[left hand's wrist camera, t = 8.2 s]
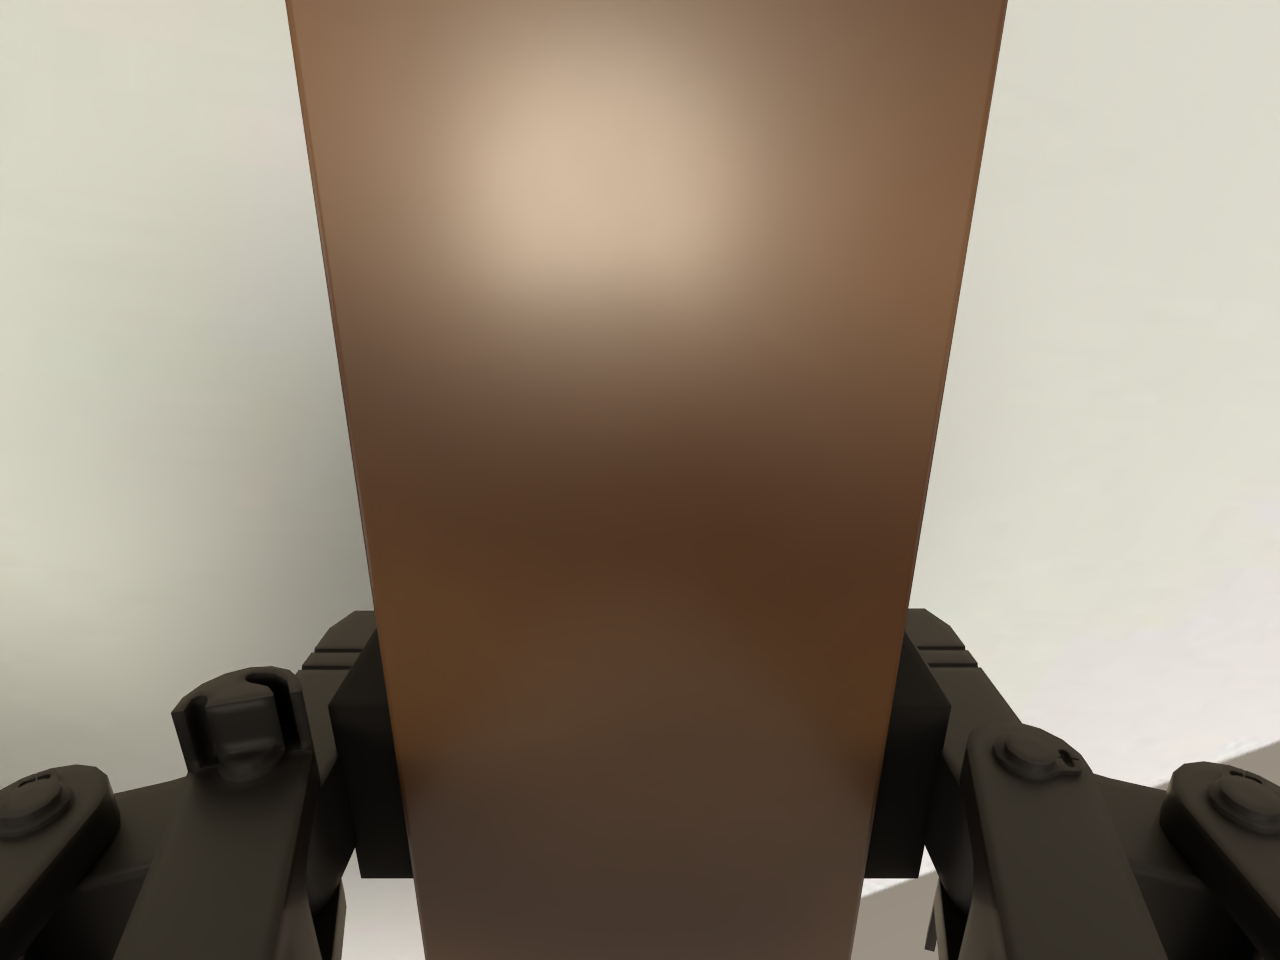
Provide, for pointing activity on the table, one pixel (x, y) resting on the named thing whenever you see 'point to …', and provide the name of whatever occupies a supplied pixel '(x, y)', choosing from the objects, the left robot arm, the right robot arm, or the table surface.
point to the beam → (642, 438)
